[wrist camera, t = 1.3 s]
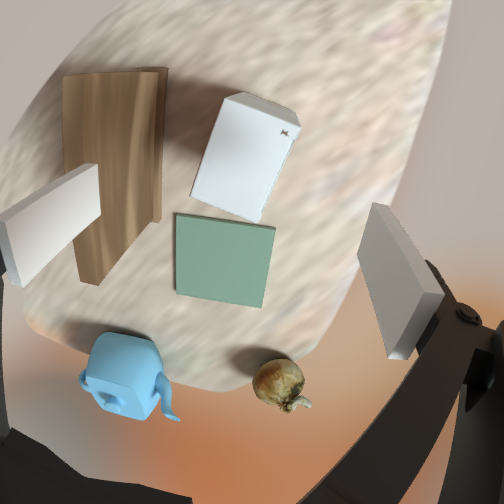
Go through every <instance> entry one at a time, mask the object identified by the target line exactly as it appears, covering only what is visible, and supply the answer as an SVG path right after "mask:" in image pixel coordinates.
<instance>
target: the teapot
mask: <svg viewBox="0 0 504 504" xmlns="http://www.w3.org/2000/svg"><path fill="white" fill-rule="evenodd" d="M85 380H86V381H87V384H88V385H87V384H85V383H84V381H85ZM79 383H80V385H81V386H82V388H83V389H84V390H86V391H88V392H91V393H92V395H93V397H94V398H95V400H96V401H97V403H98V404H99V405H100V406H101V407H102V408H103V409H104V410H107V411H110V412H113V413H116V414H119V415H123V416H126V417H130V418H134V419H139V420H145V419H146V418H147V417H148V416H149V414H150V413H151V412H152V410H153V409H154V407H155V406H156V404H157V403H158V400H159V399H160V397H161V410H162V412H163V414H164V415H165V416H166V417H168V418H170V419H172V420H175V421H180V419H179V418H178V417H177V416H175V414H174V413H173V412H172V409H171V396H172V389H171V385H170V382H169V380H168V379H167V377H166V376H165V375H164V367H163V362H162V359H161V356H160V354H159V351H158V349H157V347H156V345H155V344H154V343H153V342H152V341H149V340H146V339H142V338H138V337H133V336H129V335H124V334H118V333H113V332H105V333H103V334H102V335H101V336H99V337H98V338H97V340H96V342H95V344H94V346H93V348H92V351H91V353H90V357H89V360H88V365H87V368H86V369H84V370H83V371H82V372H81V374H80V375H79Z"/></svg>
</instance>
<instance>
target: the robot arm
mask: <svg viewBox="0 0 504 504" xmlns="http://www.w3.org/2000/svg"><path fill="white" fill-rule="evenodd" d="M100 215H101V209H100V196H99V181H98V164H89V163H85V164H83V165H81V166H80V167H78V168H76V169H74V170H72V171H70V172H68V173H67V174H65V175H63V176H61V177H60V178H58V179H56V180H54V181H53V182H51V183H49V184H47V185H46V186H44V187H42V188H41V189H39V190H37V191H36V192H34V193H33V194H31V195H29V196H28V197H26V198H25V199H23V200H21V201H20V202H18V203H17V204H15V205H14V206H12V207H11V208H9V209H8V210H6V211H5V212H3V213H2V214H0V504H193V502H192V498H190V497H186V496H181V495H177V494H173V493H169V492H165V491H161V490H158V489H154V488H151V487H147V486H144V485H140V484H132V483H122V482H114V481H105V480H99V479H92V478H87V477H84V476H82V475H81V474H79V473H78V472H77V471H75V470H74V469H73V468H71V467H70V466H69V465H68V464H66V463H65V462H64V461H63V460H62V459H60V458H59V457H58V456H57V455H55V454H54V453H53V452H52V451H51V450H50V449H48V448H47V447H46V446H44V445H43V444H41V443H39V442H37V441H35V440H33V439H31V438H29V437H28V436H26V435H24V434H22V433H21V432H19V431H17V430H15V429H14V428H11V429H10V427H9V424H8V419H7V412H6V404H5V394H4V383H3V370H2V333H1V332H2V304H3V288H4V283H3V279H2V275H3V274H4V273H5V272H6V271H7V274H8V277H9V280H10V283H11V284H12V285H15V286H18V287H21V288H24V287H25V286H26V285H27V284H28V283H29V281H30V280H31V279H32V278H33V277H34V276H35V275H36V274H37V273H38V272H39V271H40V270H41V269H42V268H43V267H44V266H45V265H46V264H47V263H48V262H49V261H50V260H51V259H52V258H54V257H55V256H56V255H57V254H58V253H59V252H60V251H61V250H62V249H63V248H64V247H65V246H66V245H67V244H68V243H69V242H71V241H72V240H73V239H74V238H75V237H76V236H77V235H78V234H79V233H80V232H82V231H83V230H84V229H85V228H86V227H87V226H88V225H89V224H91V223H92V222H93V221H94V220H95V219H96V218H98V217H99V216H100ZM357 256H358V259H359V262H360V265H361V268H362V271H363V274H364V278H365V281H366V284H367V287H368V290H369V293H370V297H371V300H372V303H373V306H374V310H375V313H376V316H377V320H378V323H379V327H380V331H381V334H382V338H383V342H384V345H385V349H386V353H387V357H388V358H389V359H403V360H408V358H409V357H410V355H411V354H412V352H413V350H414V349H415V347H416V349H417V352H418V354H419V357H418V359H417V360H416V361H415V363H414V365H413V366H412V367H411V369H410V370H409V372H408V373H407V375H406V376H405V377H404V379H403V381H402V382H401V384H400V385H399V387H398V388H397V389H396V391H395V392H394V394H393V395H392V396H391V398H390V399H389V401H388V402H387V403H386V405H385V406H384V407H383V409H382V410H381V411H380V413H379V414H378V415H377V416H376V418H375V419H374V420H373V422H372V423H371V424H370V425H369V427H368V428H367V429H366V430H365V431H364V433H363V434H362V435H361V437H359V439H358V440H357V441H356V442H355V443H354V445H353V446H352V447H351V448H350V449H349V450H348V451H347V453H346V454H345V455H344V456H343V457H342V458H341V459H340V460H339V461H338V463H337V464H336V465H335V466H334V467H333V468H332V469H331V470H330V471H329V472H328V473H327V474H326V475H325V476H324V477H323V478H322V479H321V480H320V482H318V483H317V484H316V485H315V486H314V487H313V488H312V489H311V490H310V491H309V492H308V493H307V494H306V495H305V496H304V497H303V498H302V499H301V500H300V501H299V502H298V503H296V504H398V503H399V502H400V500H401V499H402V497H403V496H404V494H405V493H406V491H407V490H408V488H409V487H410V485H411V483H412V482H413V480H414V479H415V477H416V475H417V474H418V472H419V471H420V469H421V467H422V466H423V464H424V462H425V460H426V459H427V457H428V455H429V453H430V451H431V449H432V448H433V446H434V444H435V442H436V440H437V438H438V436H439V434H440V432H441V430H442V428H443V426H444V424H445V422H446V420H447V418H448V416H449V414H450V411H451V409H452V407H453V405H454V403H455V400H456V398H457V396H458V393H459V391H460V395H459V404H458V411H457V419H456V425H455V431H454V436H453V442H452V447H451V452H450V457H449V461H448V466H447V470H446V475H445V478H444V482H443V486H442V490H441V493H440V497H439V501H438V504H504V320H503V321H502V322H501V323H500V324H499V326H498V327H497V329H496V330H492V329H490V328H487V327H485V326H482V320H481V318H480V316H479V315H478V313H477V312H476V311H475V310H474V309H472V308H471V307H470V306H468V305H466V304H464V303H459V302H457V301H456V299H455V298H454V296H453V294H452V292H451V291H450V289H449V288H448V286H447V285H446V283H445V281H444V280H443V278H441V275H440V273H439V271H438V270H437V268H436V267H434V265H432V264H431V263H430V262H429V261H428V260H424V259H423V257H422V256H421V254H420V252H419V251H418V249H417V248H416V246H415V245H414V243H413V242H412V240H411V239H410V237H409V236H408V234H407V233H406V231H405V230H404V228H403V227H402V225H401V224H400V222H399V221H398V219H397V218H396V217H395V215H394V214H393V212H392V211H391V210H390V208H389V207H388V206H387V205H383V204H378V203H374V202H373V203H372V206H371V210H370V213H369V217H368V220H367V223H366V227H365V230H364V233H363V237H362V240H361V243H360V246H359V249H358V252H357Z"/></svg>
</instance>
